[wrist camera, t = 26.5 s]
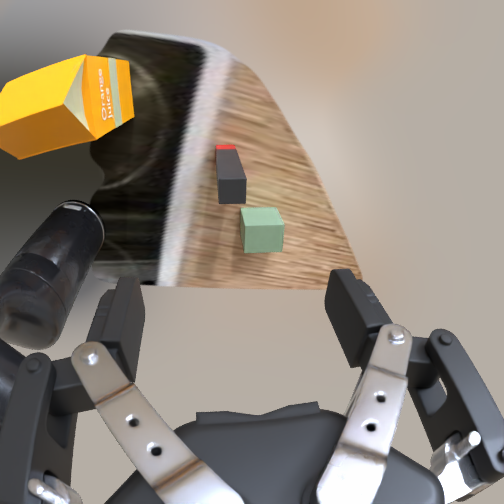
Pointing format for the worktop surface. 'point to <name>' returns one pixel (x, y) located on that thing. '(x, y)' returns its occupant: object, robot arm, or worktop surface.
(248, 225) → the block
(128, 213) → the worktop surface
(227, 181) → the marker
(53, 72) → the orange juice
